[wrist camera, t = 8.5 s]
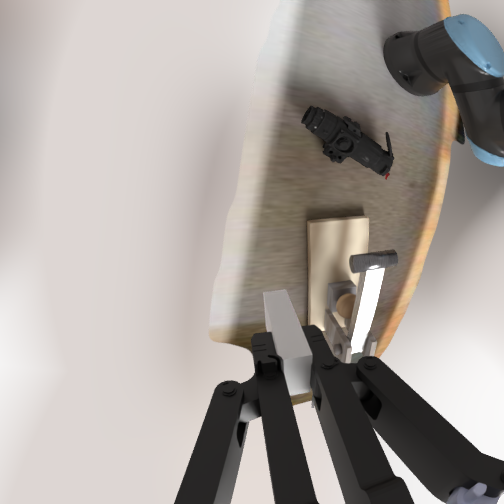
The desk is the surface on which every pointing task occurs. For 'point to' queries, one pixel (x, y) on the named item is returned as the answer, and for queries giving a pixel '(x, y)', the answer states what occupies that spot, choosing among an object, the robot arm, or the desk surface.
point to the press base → (335, 278)
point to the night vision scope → (348, 140)
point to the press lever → (367, 292)
